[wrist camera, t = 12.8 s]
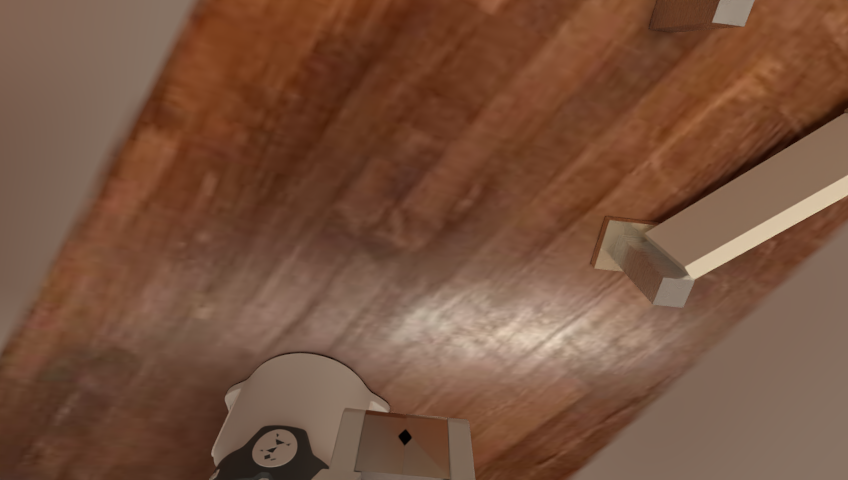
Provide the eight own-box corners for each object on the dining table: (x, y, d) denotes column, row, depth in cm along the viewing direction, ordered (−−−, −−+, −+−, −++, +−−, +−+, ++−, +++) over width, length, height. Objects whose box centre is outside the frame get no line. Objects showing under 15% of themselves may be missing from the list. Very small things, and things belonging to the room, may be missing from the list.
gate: (653, 247, 38) (693, 282, 32) (643, 231, 38) (683, 264, 32) (877, 115, 33) (974, 128, 27) (870, 94, 33) (968, 103, 27)
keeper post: (673, 32, 32) (744, 26, 25) (648, 29, 32) (712, 22, 25) (687, -12, 31) (766, -32, 24) (661, -16, 31) (732, -37, 24)
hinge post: (640, 268, 41) (692, 323, 33) (590, 263, 41) (630, 316, 33) (657, 222, 39) (718, 267, 31) (605, 216, 39) (652, 260, 30)
